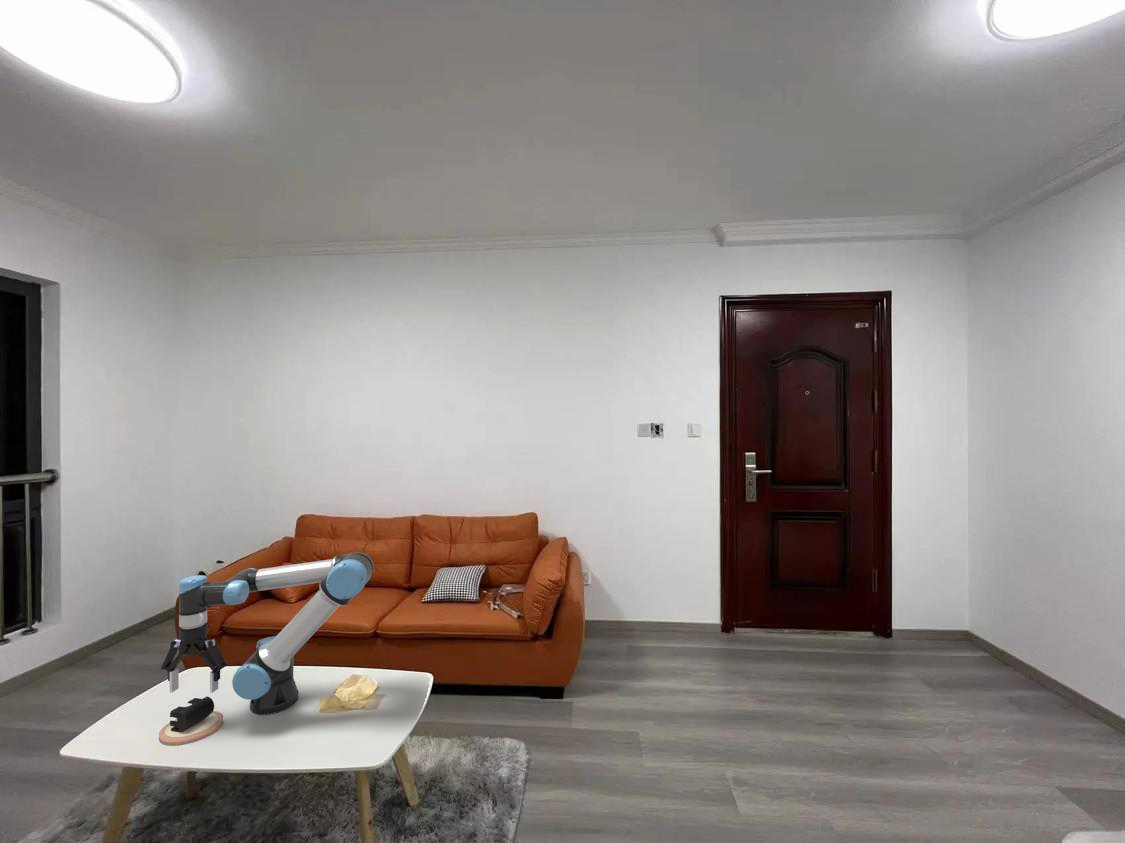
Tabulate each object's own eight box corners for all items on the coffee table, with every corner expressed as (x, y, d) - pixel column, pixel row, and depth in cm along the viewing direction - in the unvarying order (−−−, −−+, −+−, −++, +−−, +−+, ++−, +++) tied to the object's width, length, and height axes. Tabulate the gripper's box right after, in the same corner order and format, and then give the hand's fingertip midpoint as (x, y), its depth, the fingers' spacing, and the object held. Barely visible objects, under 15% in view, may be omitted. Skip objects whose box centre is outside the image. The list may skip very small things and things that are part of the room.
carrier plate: (235, 716, 175) (235, 710, 175) (197, 746, 158) (197, 740, 158) (187, 714, 176) (187, 709, 176) (144, 744, 159) (144, 739, 159)
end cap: (186, 734, 162) (186, 712, 162) (168, 731, 163) (168, 710, 163) (214, 717, 171) (214, 697, 171) (197, 714, 173) (197, 694, 173)
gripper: (238, 620, 171) (238, 685, 171) (166, 620, 173) (167, 684, 172) (222, 629, 164) (222, 696, 163) (147, 629, 165) (147, 696, 165)
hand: (194, 690), depth 168 cm, fingers open, 13 cm apart
